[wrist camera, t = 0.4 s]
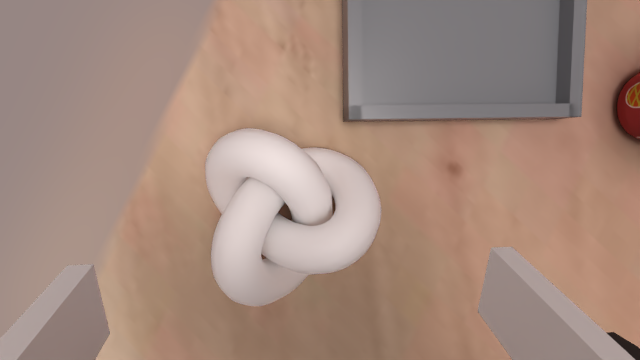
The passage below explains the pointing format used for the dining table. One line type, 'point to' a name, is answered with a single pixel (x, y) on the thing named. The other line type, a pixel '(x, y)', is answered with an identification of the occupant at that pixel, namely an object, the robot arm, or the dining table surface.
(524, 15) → the tray
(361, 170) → the white trefoil knot
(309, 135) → the dining table surface
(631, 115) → the smoothie
